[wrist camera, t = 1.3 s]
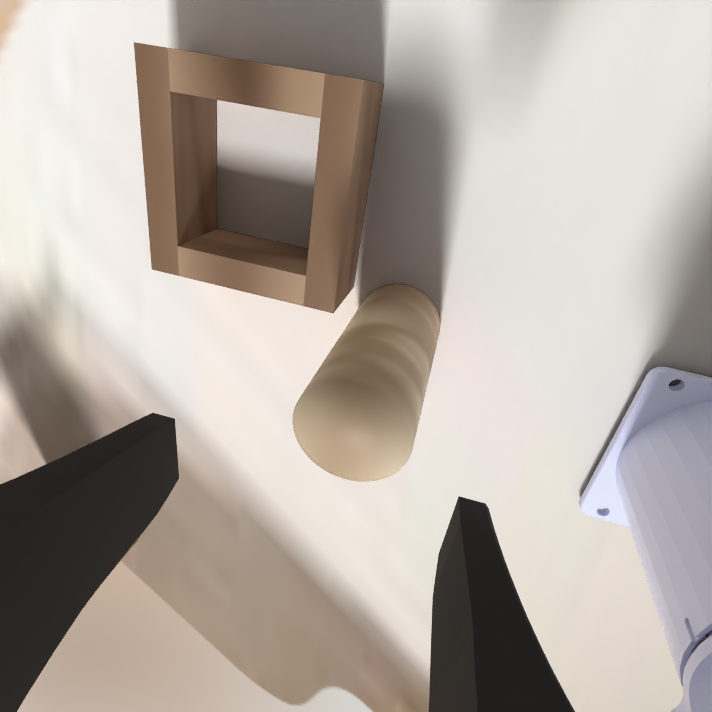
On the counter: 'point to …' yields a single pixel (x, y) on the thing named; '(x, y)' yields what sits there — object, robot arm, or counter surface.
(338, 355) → the beech peg
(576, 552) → the counter surface
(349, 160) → the walnut holder
